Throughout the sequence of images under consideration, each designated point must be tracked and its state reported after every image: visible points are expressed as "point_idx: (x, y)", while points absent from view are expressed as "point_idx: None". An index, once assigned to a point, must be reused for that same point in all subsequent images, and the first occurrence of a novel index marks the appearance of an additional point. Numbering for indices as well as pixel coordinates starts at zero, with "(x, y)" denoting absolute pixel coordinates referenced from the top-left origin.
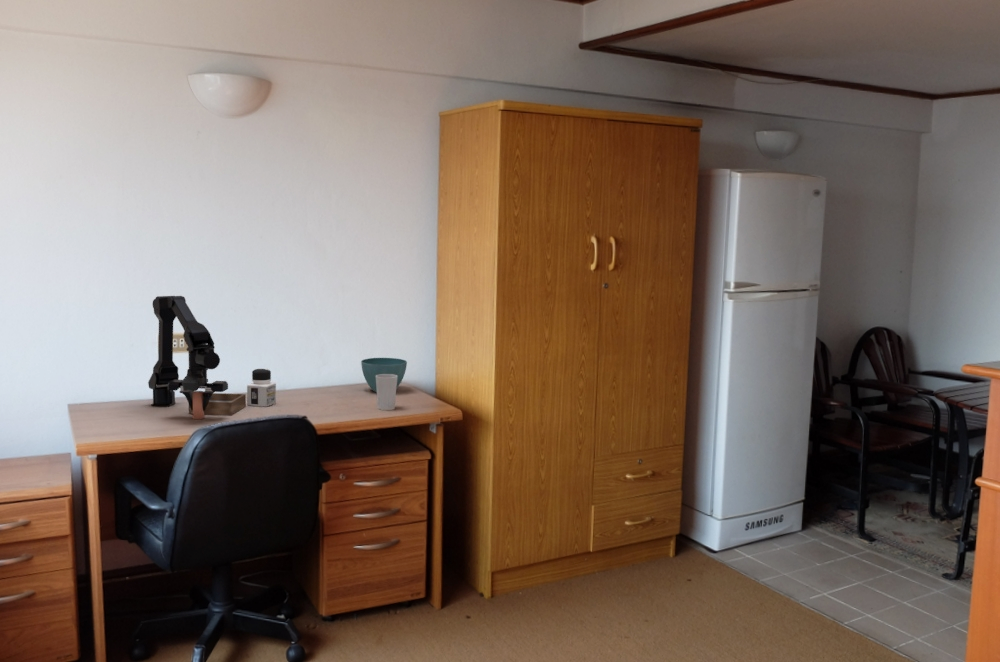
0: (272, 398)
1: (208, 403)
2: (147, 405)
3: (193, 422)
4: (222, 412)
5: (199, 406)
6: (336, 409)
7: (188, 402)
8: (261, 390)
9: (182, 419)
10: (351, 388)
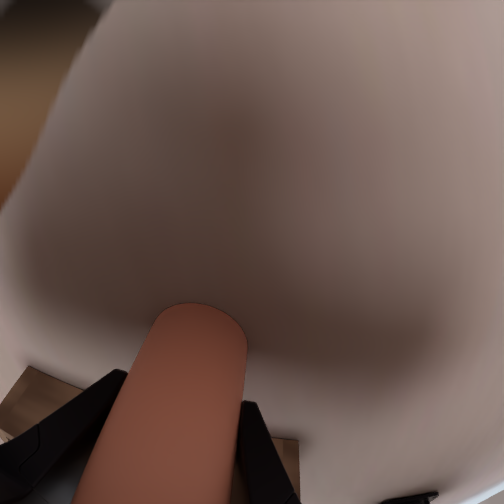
0: None
1: None
2: (444, 491)
3: (203, 161)
4: (66, 398)
5: (133, 402)
6: None
7: (288, 481)
8: None
9: (340, 308)
10: None
